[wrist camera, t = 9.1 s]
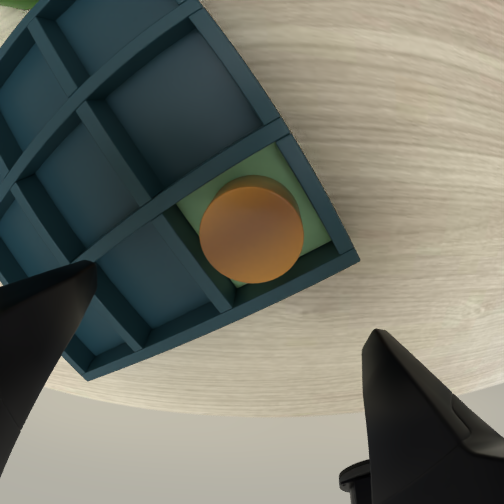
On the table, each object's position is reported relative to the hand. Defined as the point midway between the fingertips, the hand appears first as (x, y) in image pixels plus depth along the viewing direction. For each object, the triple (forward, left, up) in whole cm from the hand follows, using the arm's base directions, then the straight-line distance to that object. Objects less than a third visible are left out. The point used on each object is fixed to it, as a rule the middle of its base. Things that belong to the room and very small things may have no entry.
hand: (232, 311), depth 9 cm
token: (0, 0, -8) cm, 8 cm away
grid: (+7, +7, -8) cm, 13 cm away
